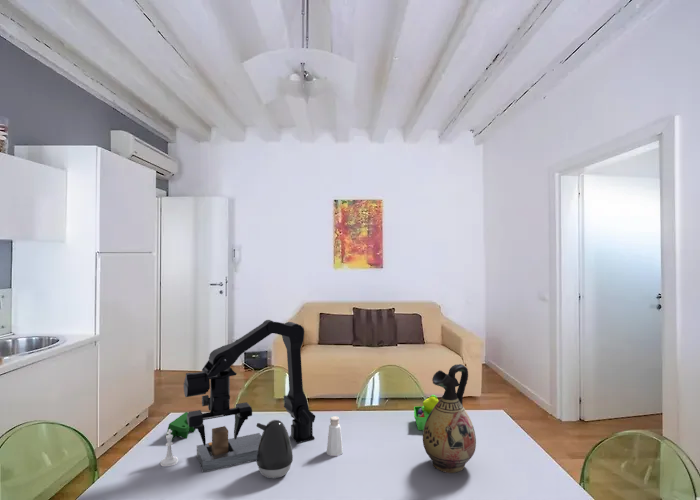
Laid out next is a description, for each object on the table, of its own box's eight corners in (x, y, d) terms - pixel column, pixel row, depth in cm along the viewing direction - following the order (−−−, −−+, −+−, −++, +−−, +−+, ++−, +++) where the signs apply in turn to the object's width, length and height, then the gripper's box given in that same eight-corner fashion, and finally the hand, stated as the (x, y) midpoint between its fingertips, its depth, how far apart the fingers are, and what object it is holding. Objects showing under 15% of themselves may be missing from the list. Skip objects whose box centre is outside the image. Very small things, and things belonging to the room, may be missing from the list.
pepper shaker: (346, 450, 135) (345, 416, 135) (338, 457, 130) (338, 422, 130) (331, 447, 137) (331, 413, 137) (323, 454, 132) (323, 419, 132)
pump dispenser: (260, 464, 126) (260, 413, 126) (295, 465, 126) (295, 414, 126) (251, 483, 116) (251, 427, 116) (289, 483, 115) (289, 427, 116)
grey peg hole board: (259, 441, 141) (259, 432, 141) (270, 456, 131) (270, 446, 131) (196, 455, 132) (196, 444, 132) (202, 472, 121) (202, 460, 121)
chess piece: (181, 460, 129) (181, 427, 129) (169, 467, 124) (170, 433, 124) (168, 457, 130) (168, 425, 131) (156, 465, 126) (156, 431, 126)
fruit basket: (413, 419, 161) (413, 389, 161) (437, 420, 160) (437, 390, 160) (414, 431, 150) (414, 399, 150) (439, 432, 148) (439, 400, 149)
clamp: (181, 452, 144) (182, 433, 140) (166, 447, 144) (165, 427, 141) (200, 426, 154) (201, 407, 151) (185, 421, 155) (186, 402, 152)
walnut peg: (225, 454, 132) (225, 426, 132) (228, 460, 129) (228, 430, 129) (211, 457, 130) (212, 428, 130) (214, 463, 127) (214, 433, 127)
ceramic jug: (446, 484, 114) (445, 374, 115) (412, 460, 128) (412, 362, 129) (492, 470, 122) (491, 366, 123) (455, 448, 136) (455, 355, 136)
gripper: (243, 380, 141) (243, 426, 141) (184, 388, 133) (184, 438, 132) (252, 389, 132) (252, 439, 131) (189, 399, 123) (189, 452, 123)
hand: (220, 441), depth 130 cm, fingers open, 9 cm apart
